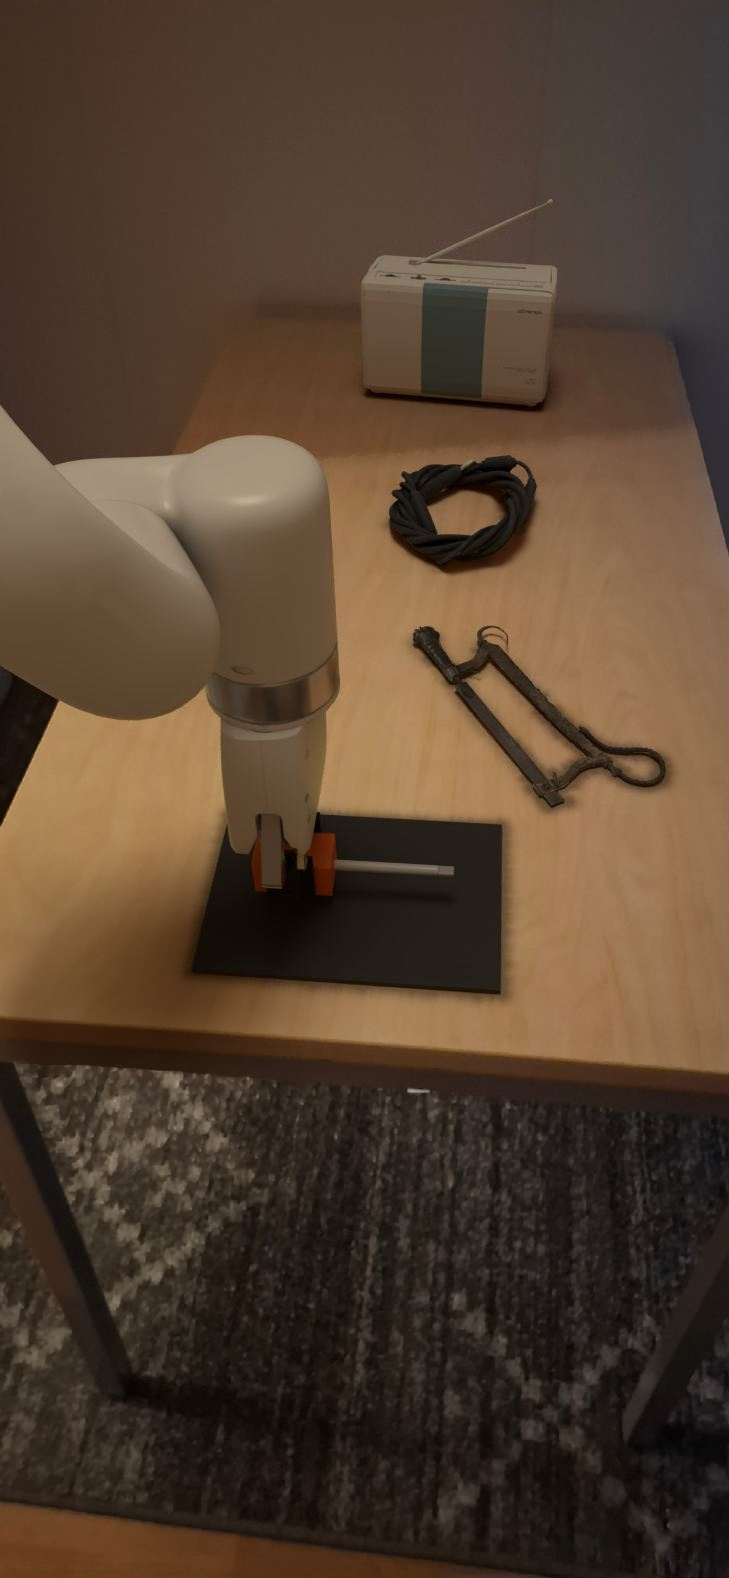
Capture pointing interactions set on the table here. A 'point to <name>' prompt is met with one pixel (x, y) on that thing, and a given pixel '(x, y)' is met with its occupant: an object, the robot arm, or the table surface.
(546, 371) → the radio
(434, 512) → the table surface
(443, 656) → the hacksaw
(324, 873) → the screwdriver
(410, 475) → the cable
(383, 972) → the mat
